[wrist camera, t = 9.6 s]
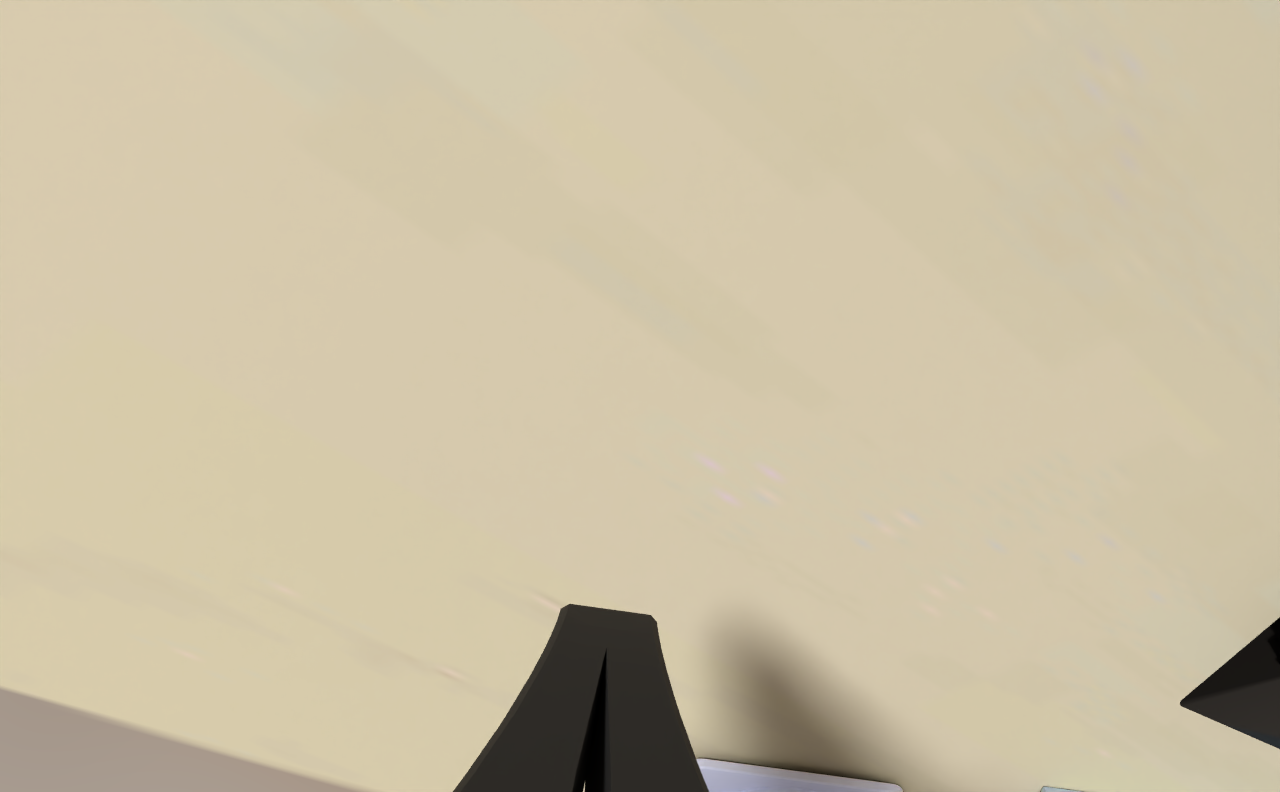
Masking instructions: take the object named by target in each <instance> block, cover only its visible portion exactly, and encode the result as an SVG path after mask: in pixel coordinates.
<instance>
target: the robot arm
mask: <svg viewBox="0 0 1280 792" xmlns="http://www.w3.org/2000/svg"><path fill="white" fill-rule="evenodd" d="M584 783H585V792H903V790H902V788H901V787H900V786H898V785H895V784H891V783H883V782H876V781H868V780H861V779H853V778H846V777H838V776H831V775H823V774H816V773H808V772H801V771H793V770H786V769H778V768H771V767H763V766H755V765H748V764H740V763H733V762H725V761H718V760H710V759H696V758H695V755H694V752H693V749H692V747H691V744H690V741H689V738H688V735H687V733H686V730H685V727H684V724H683V721H682V719H681V716H680V713H679V710H678V707H677V704H676V700H675V697H674V694H673V691H672V687H671V684H670V680H669V677H668V673H667V670H666V666H665V662H664V658H663V654H662V649H661V644H660V639H659V634H658V627H657V622H656V621H655V619H654V618H653V617H652V616H651V615H646V614H639V613H632V612H625V611H617V610H610V609H603V608H595V607H588V606H581V605H574V604H568V605H567V606H565V607H563V608H562V609H561V610H560V613H559V617H558V620H557V622H556V625H555V627H554V630H553V632H552V634H551V637H550V639H549V641H548V643H547V645H546V647H545V649H544V651H543V653H542V655H541V657H540V659H539V661H538V662H537V664H536V666H535V668H534V670H533V672H532V674H531V675H530V677H529V679H528V680H527V682H526V684H525V685H524V687H523V689H522V690H521V692H520V694H519V695H518V697H517V699H516V700H515V702H514V704H513V705H512V707H511V708H510V710H509V712H508V713H507V715H506V717H505V718H504V720H503V721H502V723H501V724H500V726H499V727H498V729H497V730H496V732H495V733H494V735H493V736H492V737H491V739H490V740H489V742H488V743H487V745H486V746H485V748H484V749H483V750H482V752H481V753H480V755H479V756H478V758H477V759H476V761H475V762H474V763H473V765H472V766H471V768H470V769H469V771H468V772H467V773H466V775H465V776H464V778H463V779H462V780H461V782H460V783H459V784H458V786H457V787H456V788H455V790H454V791H453V792H583V788H584Z"/></svg>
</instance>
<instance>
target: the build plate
mask: <svg viewBox="0 0 1280 792" xmlns="http://www.w3.org/2000/svg"><path fill="white" fill-rule="evenodd" d="M1180 705H1181V706H1182V707H1185V708H1187V709H1189V710H1192V711H1194V712H1196V713H1199V714H1201V715H1203V716H1205V717H1208V718H1210V719H1212V720H1215V721H1217V722H1219V723H1221V724H1224V725H1226V726H1228V727H1231V728H1233V729H1235V730H1238V731H1240V732H1242V733H1244V734H1247V735H1249V736H1251V737H1254V738H1256V739H1258V740H1260V741H1263V742H1265V743H1267V744H1270V745H1272V746H1274V747H1277V748H1279V749H1280V618H1278V619H1277V620H1276V621H1275V622H1274V623H1273V624H1271V625H1270V626H1269V627H1268V628H1267V629H1265V630H1264V631H1263V632H1262V633H1261V634H1260V635H1258V636H1257V637H1256V638H1255V639H1254V640H1252V641H1251V642H1250V643H1249V644H1248V645H1246V646H1245V647H1244V648H1243V649H1242V650H1241V651H1239V652H1238V653H1237V654H1236V655H1235V656H1233V657H1232V658H1231V659H1230V660H1229V661H1227V662H1226V663H1225V664H1224V665H1223V666H1222V667H1220V668H1219V669H1218V670H1217V671H1216V672H1214V673H1213V674H1212V675H1211V676H1210V677H1208V678H1207V679H1206V680H1205V681H1204V682H1203V683H1201V684H1200V685H1199V686H1198V687H1197V688H1195V689H1194V690H1193V691H1192V692H1191V693H1190V694H1188V695H1187V696H1186V697H1185V698H1184V699H1182V700H1181V702H1180Z"/></svg>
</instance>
